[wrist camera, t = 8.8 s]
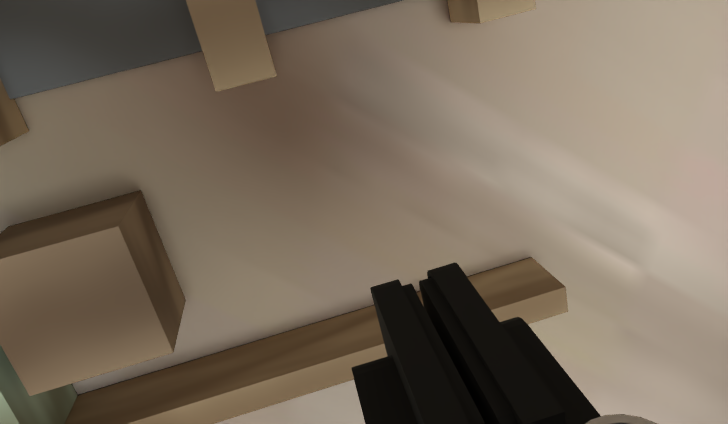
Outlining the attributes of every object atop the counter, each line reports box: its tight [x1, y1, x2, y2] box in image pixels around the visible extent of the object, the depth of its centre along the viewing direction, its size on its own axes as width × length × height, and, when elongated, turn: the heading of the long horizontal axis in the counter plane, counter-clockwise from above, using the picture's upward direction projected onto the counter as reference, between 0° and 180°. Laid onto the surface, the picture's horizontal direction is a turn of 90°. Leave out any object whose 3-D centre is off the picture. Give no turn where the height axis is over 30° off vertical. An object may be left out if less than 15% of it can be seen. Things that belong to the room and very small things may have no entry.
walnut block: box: [0, 190, 186, 396], centre depth 20 cm, size 5×5×4 cm
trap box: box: [0, 0, 568, 424], centre depth 20 cm, size 19×22×4 cm
